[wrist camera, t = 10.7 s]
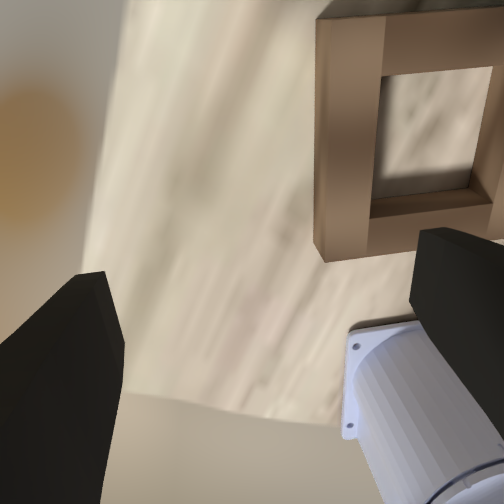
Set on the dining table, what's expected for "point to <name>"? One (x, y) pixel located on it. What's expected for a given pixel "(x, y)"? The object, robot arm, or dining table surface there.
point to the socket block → (365, 127)
